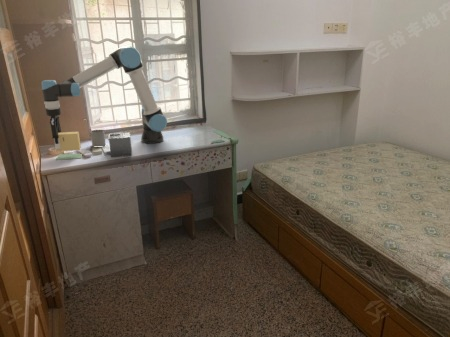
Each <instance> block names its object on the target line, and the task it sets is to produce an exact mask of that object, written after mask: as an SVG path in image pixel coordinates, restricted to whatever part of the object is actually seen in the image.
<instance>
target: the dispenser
mask: <svg viewBox="0 0 450 337" xmlns="http://www.w3.org/2000/svg"><path fill="white" fill-rule="evenodd" d="M131 139H132V137H131V132H115V133H114V132H112V133H111V132H110V133H109V134H108V138H107V141H108V142H109V150H110V157H111V158H116V157H132V156H133V155H132V151H133V150H132V140H131ZM131 155H132V156H131Z"/></svg>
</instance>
